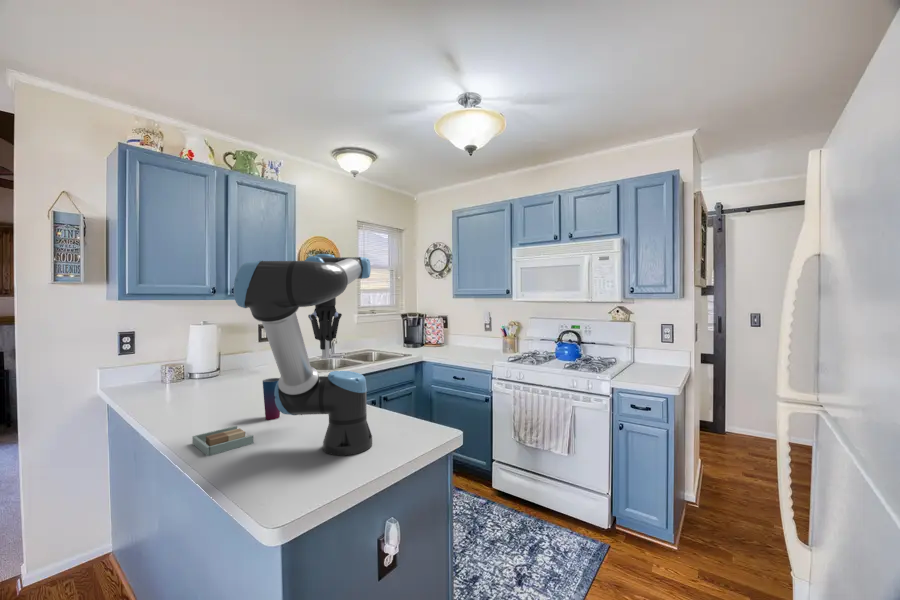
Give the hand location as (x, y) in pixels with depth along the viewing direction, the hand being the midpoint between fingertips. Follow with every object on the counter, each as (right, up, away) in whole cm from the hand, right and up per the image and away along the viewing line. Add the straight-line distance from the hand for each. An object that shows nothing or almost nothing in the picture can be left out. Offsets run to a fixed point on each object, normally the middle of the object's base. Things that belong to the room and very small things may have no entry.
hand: (325, 357), depth 144 cm
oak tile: (-25, -25, -17) cm, 39 cm away
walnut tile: (-28, -25, -21) cm, 43 cm away
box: (-27, -25, -20) cm, 42 cm away
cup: (-23, -25, +6) cm, 34 cm away
